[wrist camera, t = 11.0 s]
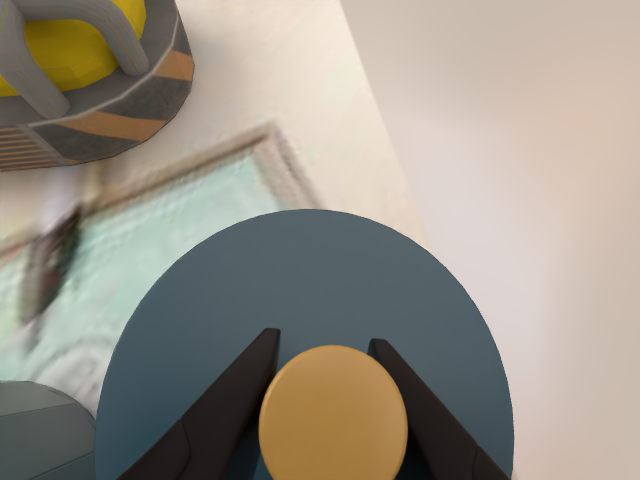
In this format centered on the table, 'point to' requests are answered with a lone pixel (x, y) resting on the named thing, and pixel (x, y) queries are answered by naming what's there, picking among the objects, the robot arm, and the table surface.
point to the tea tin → (44, 434)
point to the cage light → (87, 78)
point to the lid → (306, 347)
